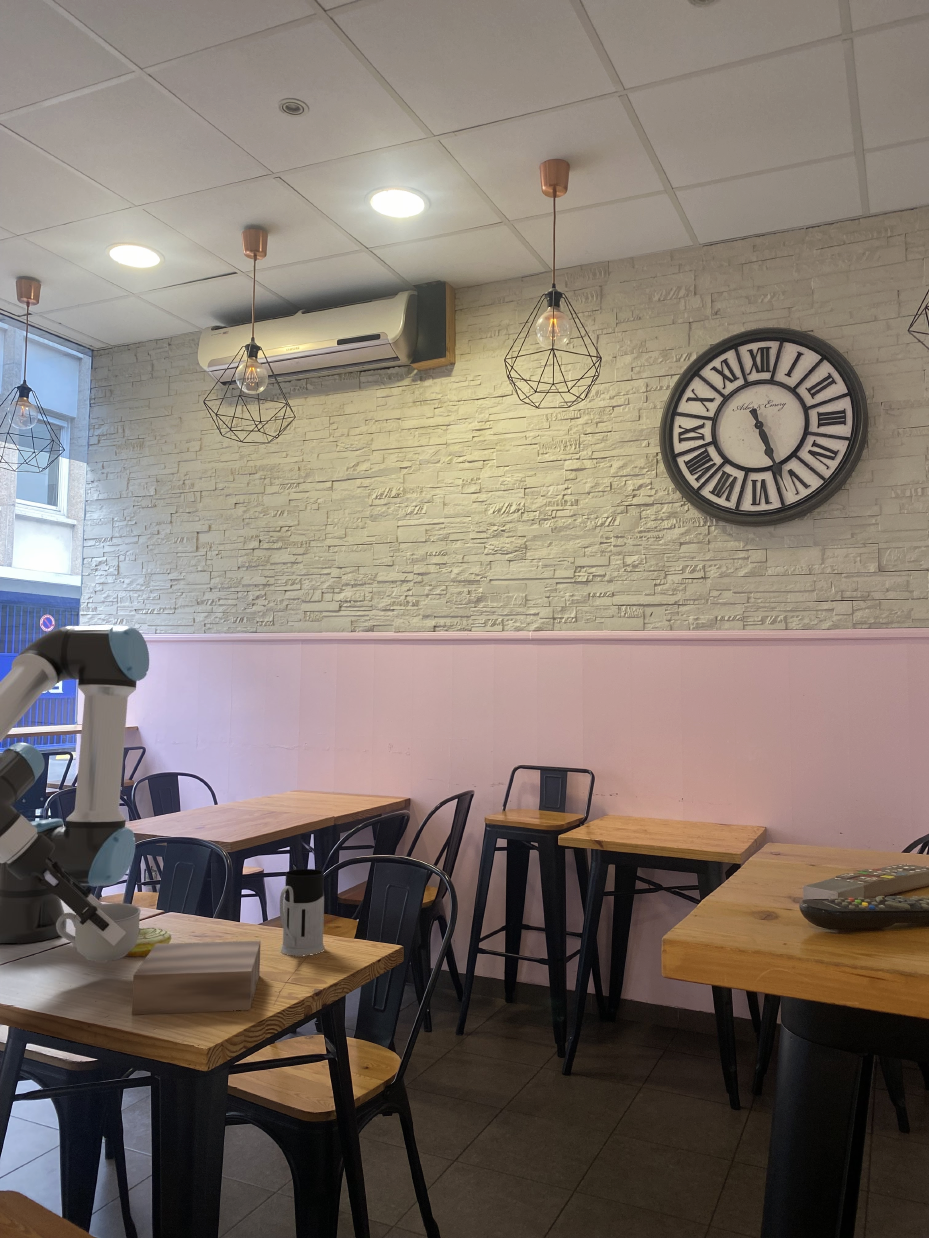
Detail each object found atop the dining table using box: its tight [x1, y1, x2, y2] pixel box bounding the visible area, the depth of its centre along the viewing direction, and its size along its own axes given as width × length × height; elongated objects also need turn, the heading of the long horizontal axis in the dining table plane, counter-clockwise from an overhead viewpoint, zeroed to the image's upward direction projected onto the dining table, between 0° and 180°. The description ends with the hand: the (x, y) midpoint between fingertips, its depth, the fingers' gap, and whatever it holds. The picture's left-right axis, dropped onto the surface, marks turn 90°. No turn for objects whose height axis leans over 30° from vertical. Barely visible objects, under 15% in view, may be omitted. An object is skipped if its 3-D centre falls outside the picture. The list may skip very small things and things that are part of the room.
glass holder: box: [279, 868, 326, 957], centre depth 172 cm, size 9×14×15 cm, turn 164°
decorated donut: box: [124, 927, 172, 958], centre depth 173 cm, size 10×11×4 cm
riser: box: [131, 940, 261, 1016], centre depth 147 cm, size 18×18×6 cm
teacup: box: [56, 902, 141, 963], centre depth 155 cm, size 14×11×8 cm
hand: (115, 930), depth 156 cm, fingers closed on teacup, 11 cm apart
